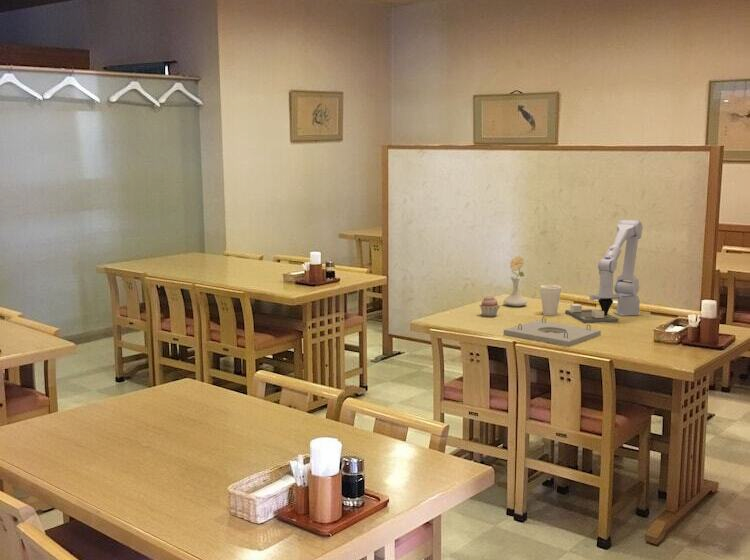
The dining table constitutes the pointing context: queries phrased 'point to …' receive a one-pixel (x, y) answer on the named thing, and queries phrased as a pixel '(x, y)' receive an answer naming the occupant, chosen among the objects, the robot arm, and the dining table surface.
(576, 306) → the handle
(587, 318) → the plate
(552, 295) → the foam cup
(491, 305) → the cupcake
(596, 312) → the handle
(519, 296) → the flower in vase
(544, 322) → the mounting panel
